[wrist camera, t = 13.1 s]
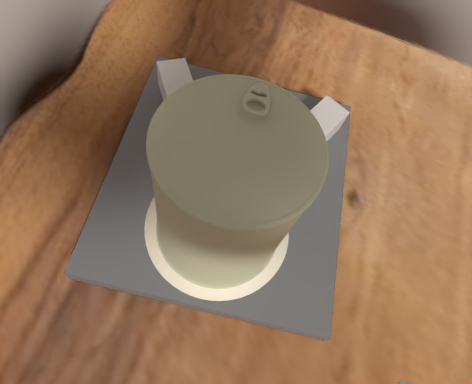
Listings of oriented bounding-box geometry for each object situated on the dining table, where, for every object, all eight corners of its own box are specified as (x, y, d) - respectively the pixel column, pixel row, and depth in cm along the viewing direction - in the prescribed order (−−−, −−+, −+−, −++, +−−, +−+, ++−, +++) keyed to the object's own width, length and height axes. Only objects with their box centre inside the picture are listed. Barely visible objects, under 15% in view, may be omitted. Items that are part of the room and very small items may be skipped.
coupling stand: (344, 116, 38) (361, 88, 34) (323, 340, 28) (344, 334, 24) (158, 67, 37) (157, 34, 34) (69, 278, 27) (53, 262, 24)
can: (288, 195, 31) (346, 97, 20) (260, 306, 27) (316, 255, 16) (181, 160, 31) (183, 45, 21) (136, 265, 27) (109, 187, 16)
